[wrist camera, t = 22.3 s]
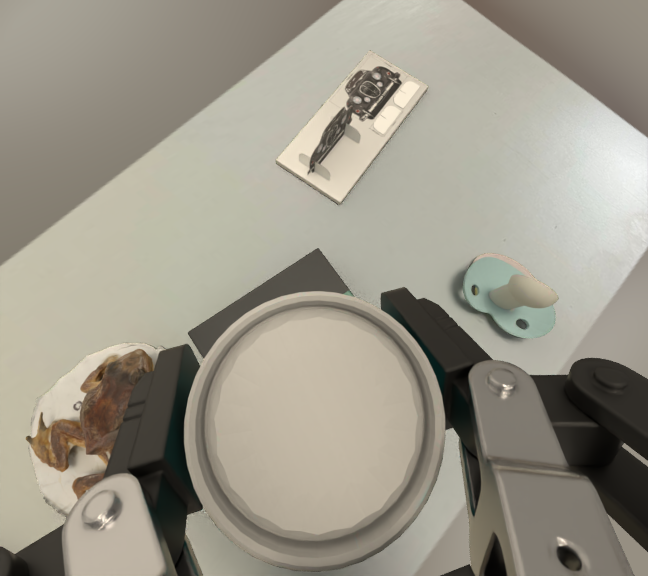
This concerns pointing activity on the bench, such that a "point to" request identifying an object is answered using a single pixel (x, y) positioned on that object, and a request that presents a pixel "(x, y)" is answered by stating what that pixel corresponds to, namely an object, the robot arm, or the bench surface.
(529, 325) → the pacifier
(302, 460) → the beverage can
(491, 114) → the bench surface
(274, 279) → the scale
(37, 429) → the frog figurine
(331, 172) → the car cutout
